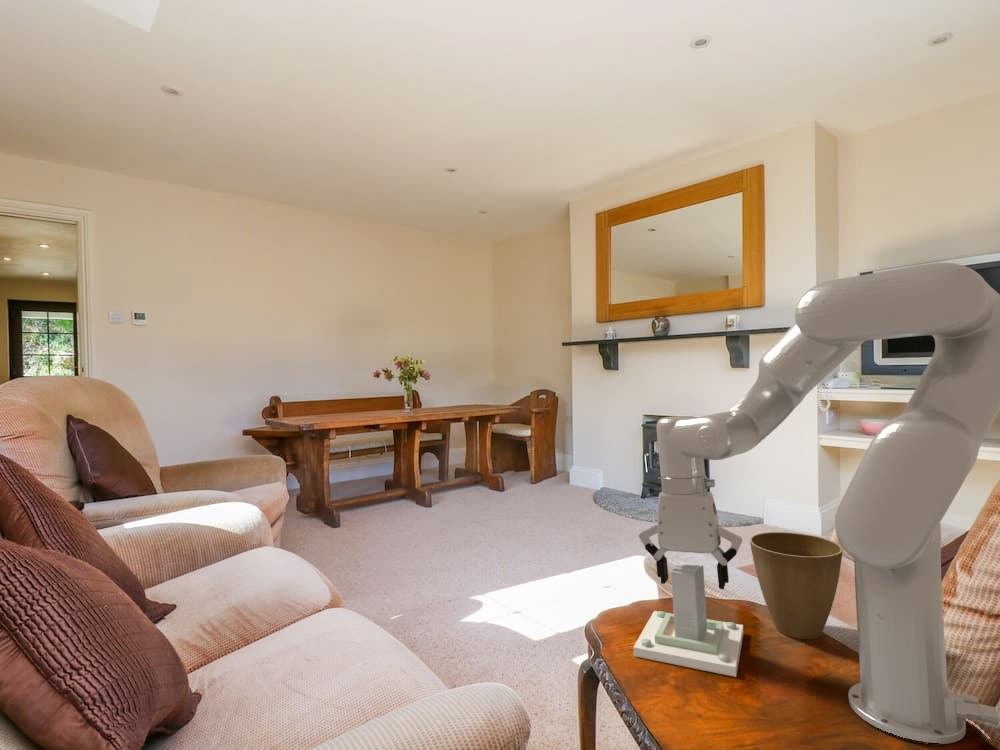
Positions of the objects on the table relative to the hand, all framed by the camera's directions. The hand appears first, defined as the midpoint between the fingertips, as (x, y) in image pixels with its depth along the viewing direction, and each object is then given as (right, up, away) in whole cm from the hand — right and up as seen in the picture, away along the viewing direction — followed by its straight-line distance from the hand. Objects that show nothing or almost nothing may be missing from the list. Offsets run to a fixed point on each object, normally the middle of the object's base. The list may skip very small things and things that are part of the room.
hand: (692, 583), depth 93 cm
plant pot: (+21, -10, +4) cm, 24 cm away
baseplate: (0, -11, 0) cm, 11 cm away
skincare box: (0, -10, 0) cm, 10 cm away
